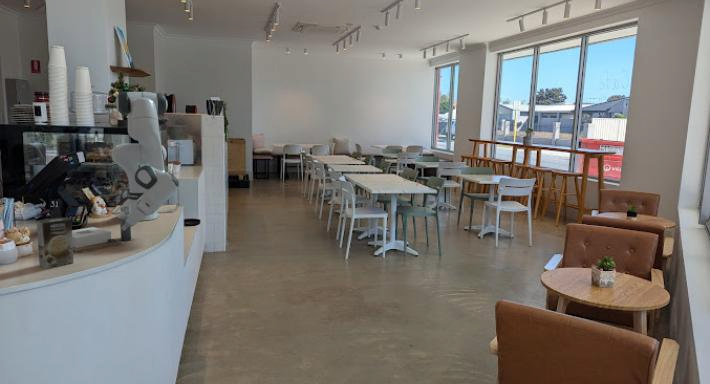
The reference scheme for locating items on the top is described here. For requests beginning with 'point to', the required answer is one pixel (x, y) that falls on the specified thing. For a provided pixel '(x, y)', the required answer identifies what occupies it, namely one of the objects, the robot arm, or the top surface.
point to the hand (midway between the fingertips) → (123, 227)
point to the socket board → (97, 246)
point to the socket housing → (89, 236)
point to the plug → (125, 233)
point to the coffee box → (55, 242)
